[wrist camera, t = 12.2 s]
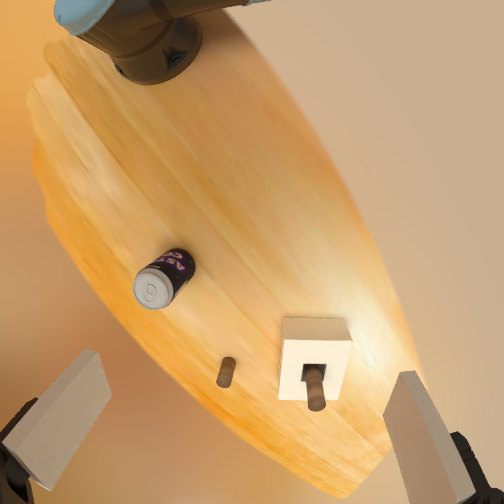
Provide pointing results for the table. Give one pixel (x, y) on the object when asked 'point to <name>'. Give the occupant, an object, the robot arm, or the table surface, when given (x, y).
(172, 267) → the beverage can
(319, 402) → the long pin
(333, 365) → the hole block
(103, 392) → the robot arm
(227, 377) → the short pin
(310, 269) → the table surface
